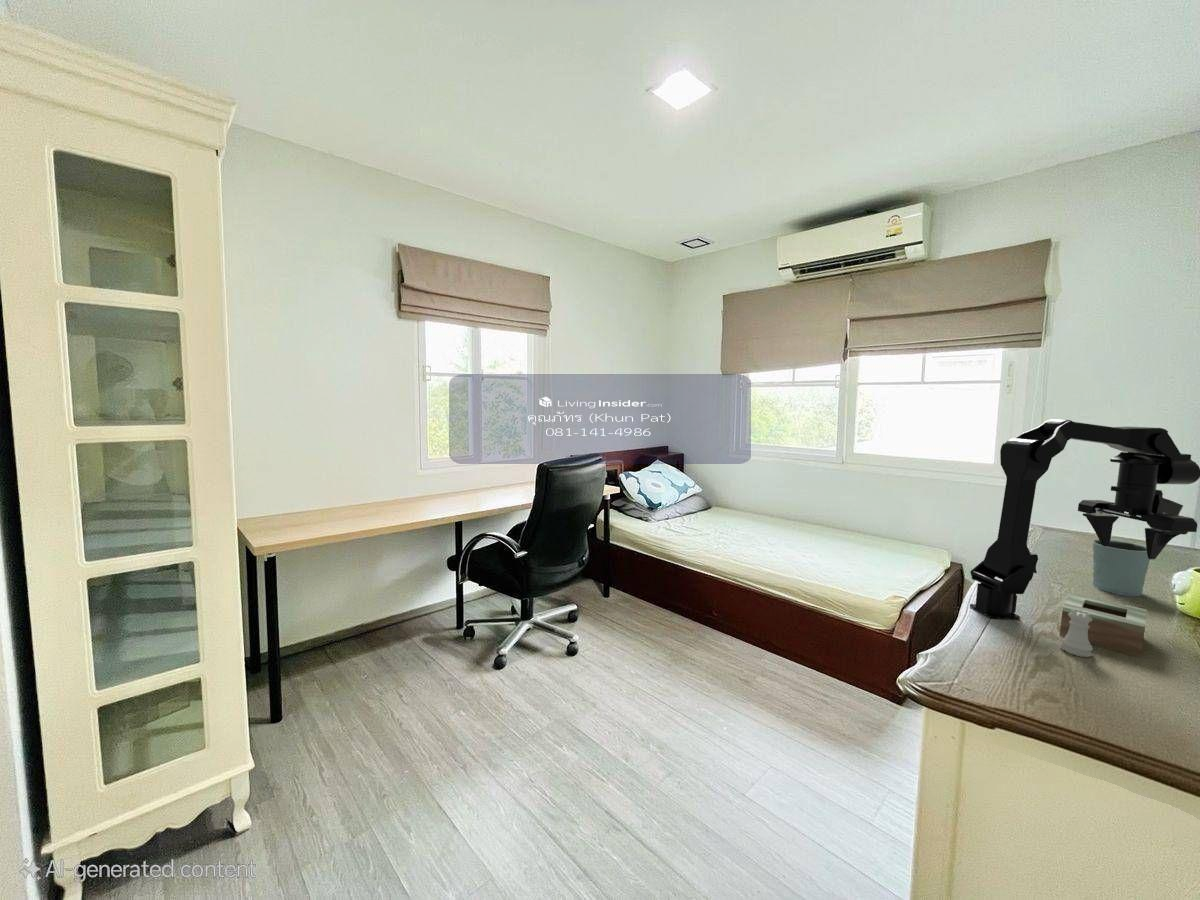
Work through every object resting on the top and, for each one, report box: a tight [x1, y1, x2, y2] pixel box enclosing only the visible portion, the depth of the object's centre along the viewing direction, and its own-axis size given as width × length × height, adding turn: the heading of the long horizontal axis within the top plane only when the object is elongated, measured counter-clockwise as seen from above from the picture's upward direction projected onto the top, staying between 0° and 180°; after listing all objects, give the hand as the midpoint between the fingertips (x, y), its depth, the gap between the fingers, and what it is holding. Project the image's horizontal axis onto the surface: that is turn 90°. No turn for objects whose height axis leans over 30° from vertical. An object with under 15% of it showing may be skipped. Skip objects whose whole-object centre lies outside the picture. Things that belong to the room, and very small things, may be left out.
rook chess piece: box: [1059, 609, 1094, 658], centre depth 89 cm, size 4×4×8 cm
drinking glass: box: [1092, 539, 1151, 597], centre depth 120 cm, size 10×10×12 cm
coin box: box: [1059, 592, 1147, 658], centre depth 95 cm, size 12×11×6 cm
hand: (1127, 552), depth 104 cm, fingers open, 9 cm apart
